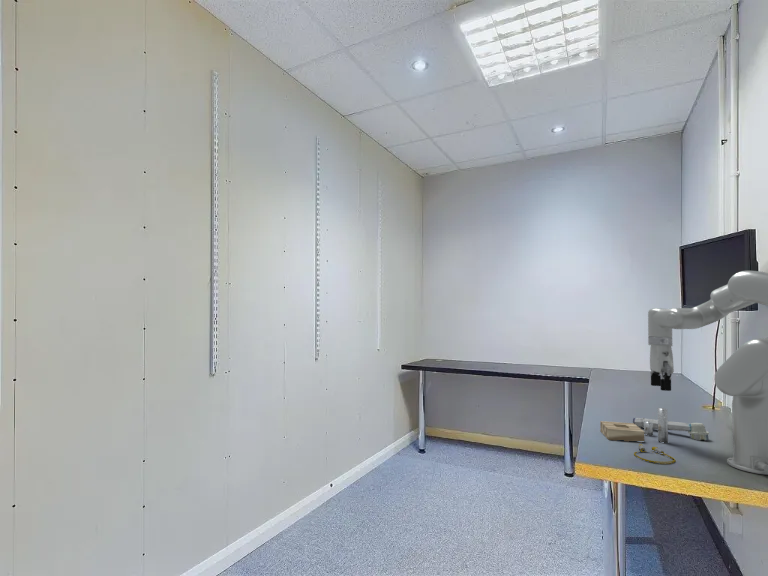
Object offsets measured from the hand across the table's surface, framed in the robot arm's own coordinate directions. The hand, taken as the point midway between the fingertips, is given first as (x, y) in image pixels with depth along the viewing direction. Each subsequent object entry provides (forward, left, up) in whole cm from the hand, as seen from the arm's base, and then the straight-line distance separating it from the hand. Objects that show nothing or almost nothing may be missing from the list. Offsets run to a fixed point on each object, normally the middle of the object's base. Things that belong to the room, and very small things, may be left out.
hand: (660, 388), depth 156 cm
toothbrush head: (+14, -7, -20) cm, 25 cm away
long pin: (0, 0, -20) cm, 20 cm away
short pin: (+9, +2, -20) cm, 21 cm away
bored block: (+3, +13, -20) cm, 24 cm away
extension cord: (-19, +9, -20) cm, 29 cm away
